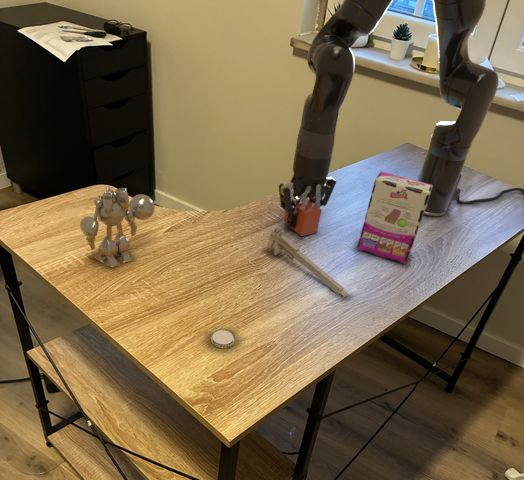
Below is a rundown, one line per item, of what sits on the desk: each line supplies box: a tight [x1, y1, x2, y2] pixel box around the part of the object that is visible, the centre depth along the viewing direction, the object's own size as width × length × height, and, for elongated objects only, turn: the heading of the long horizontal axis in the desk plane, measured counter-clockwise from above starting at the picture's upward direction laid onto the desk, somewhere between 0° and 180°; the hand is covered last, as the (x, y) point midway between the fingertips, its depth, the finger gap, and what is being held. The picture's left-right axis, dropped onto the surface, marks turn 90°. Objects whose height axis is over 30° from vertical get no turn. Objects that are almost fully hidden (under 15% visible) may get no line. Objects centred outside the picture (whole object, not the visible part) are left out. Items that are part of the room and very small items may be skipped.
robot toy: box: [79, 185, 156, 268], centre depth 98 cm, size 15×6×15 cm, turn 134°
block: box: [283, 196, 323, 237], centre depth 117 cm, size 4×7×6 cm, turn 32°
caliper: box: [267, 226, 348, 298], centre depth 104 cm, size 20×1×6 cm, turn 47°
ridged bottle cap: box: [210, 329, 236, 349], centre depth 88 cm, size 4×4×1 cm
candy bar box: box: [356, 171, 433, 265], centre depth 110 cm, size 11×5×16 cm, turn 68°
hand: (300, 224), depth 119 cm, fingers closed on block, 4 cm apart
